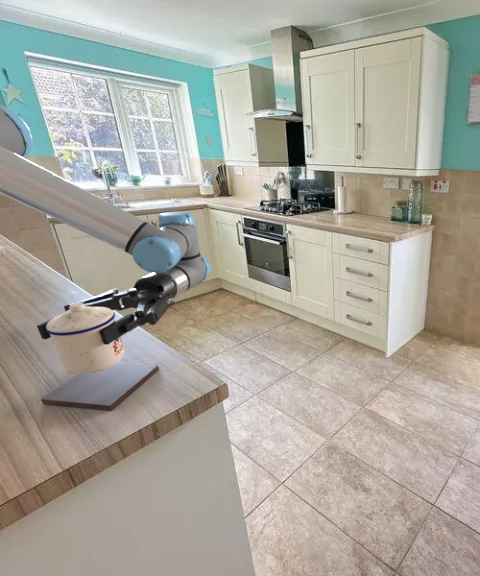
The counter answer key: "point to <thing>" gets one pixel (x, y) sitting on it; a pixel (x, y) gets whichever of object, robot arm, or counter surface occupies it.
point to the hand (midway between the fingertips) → (72, 335)
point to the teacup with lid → (84, 339)
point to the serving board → (101, 387)
